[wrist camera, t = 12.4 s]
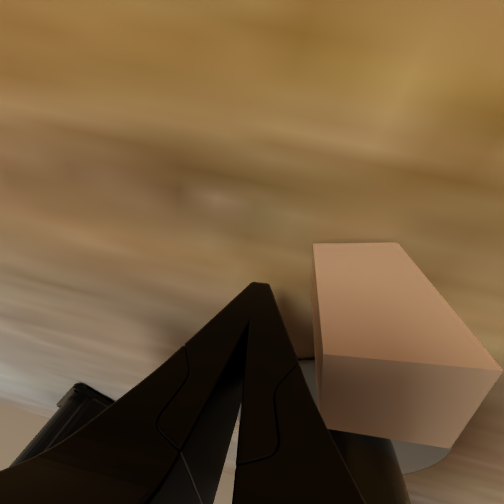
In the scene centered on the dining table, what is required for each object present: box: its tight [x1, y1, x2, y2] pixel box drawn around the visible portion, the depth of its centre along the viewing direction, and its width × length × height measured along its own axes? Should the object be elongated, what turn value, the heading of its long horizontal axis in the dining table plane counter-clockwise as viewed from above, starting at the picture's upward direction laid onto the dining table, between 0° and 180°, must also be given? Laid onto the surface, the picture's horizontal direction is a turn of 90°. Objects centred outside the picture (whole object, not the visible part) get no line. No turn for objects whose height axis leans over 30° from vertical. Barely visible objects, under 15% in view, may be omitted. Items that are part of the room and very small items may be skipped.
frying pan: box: [238, 243, 503, 474], centre depth 11 cm, size 16×18×5 cm
